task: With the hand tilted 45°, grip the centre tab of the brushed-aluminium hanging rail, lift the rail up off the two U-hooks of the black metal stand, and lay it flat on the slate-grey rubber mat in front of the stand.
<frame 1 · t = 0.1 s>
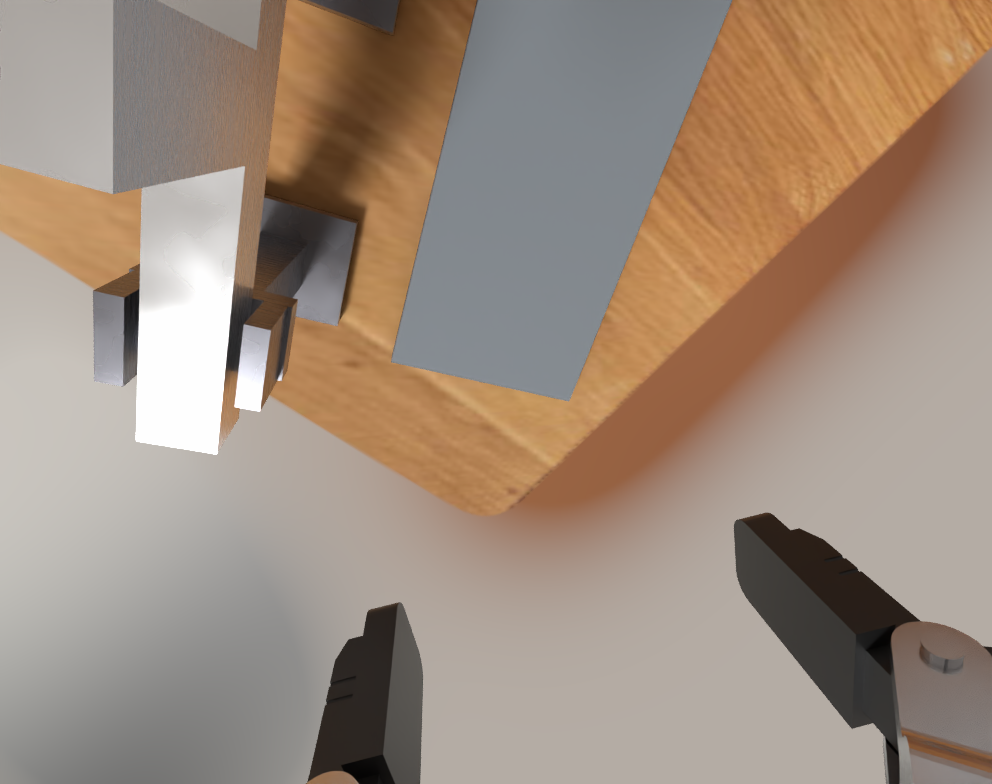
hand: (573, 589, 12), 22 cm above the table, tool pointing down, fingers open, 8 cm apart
mat: (542, 189, 29), on the table
rail: (229, 99, 15), point 12 cm above the table, touching hook stand
hook stand: (305, 111, 26), on the table
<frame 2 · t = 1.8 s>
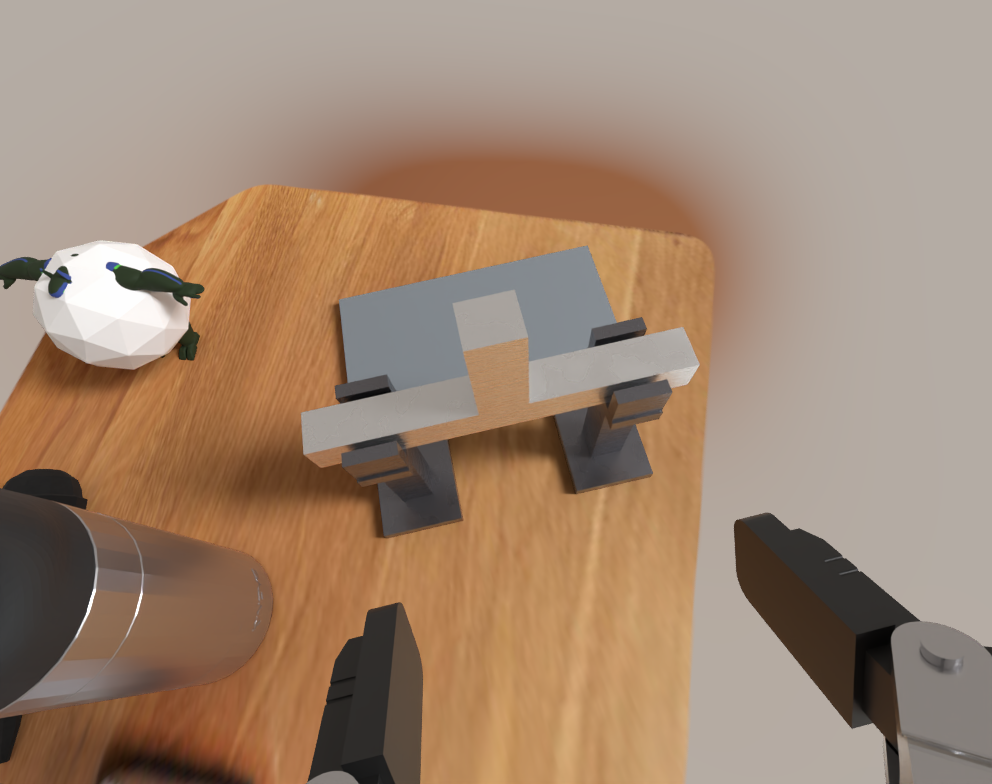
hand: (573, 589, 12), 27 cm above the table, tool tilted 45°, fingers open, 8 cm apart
mat: (477, 330, 47), on the table
rail: (501, 406, 31), point 12 cm above the table, touching hook stand
microphone: (41, 601, 40), on the table
figurine: (176, 352, 48), on the table
hook stand: (509, 464, 42), on the table
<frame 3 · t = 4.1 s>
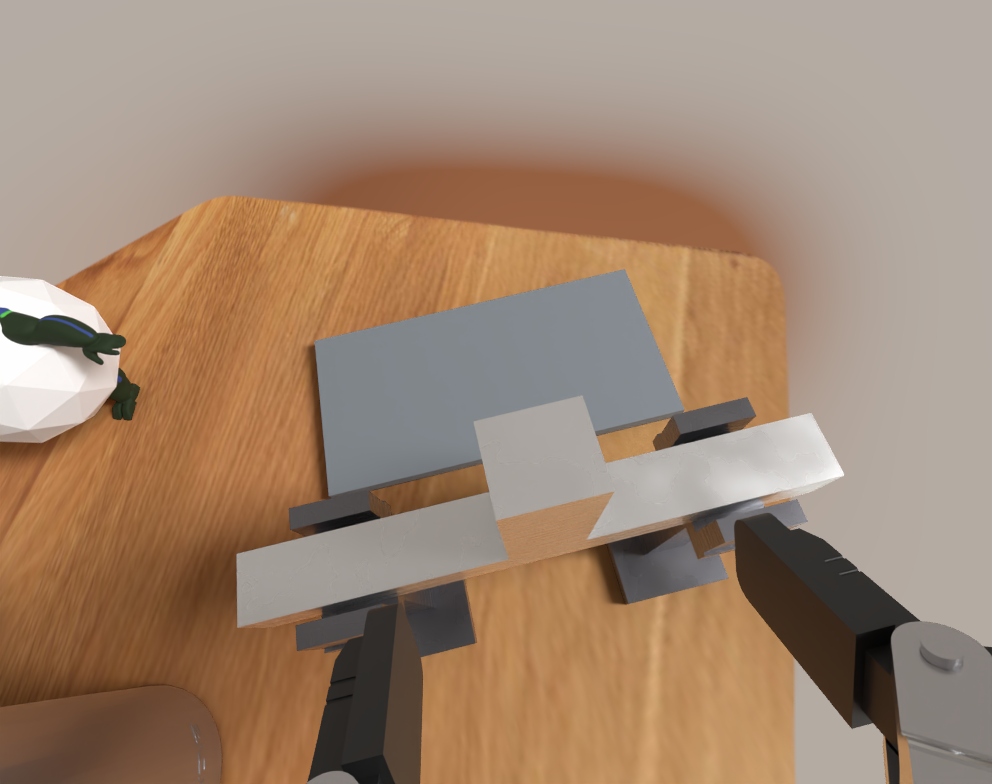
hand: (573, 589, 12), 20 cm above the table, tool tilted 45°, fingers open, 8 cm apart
mat: (489, 379, 37), on the table
rail: (538, 527, 21), point 12 cm above the table, touching hook stand
figurine: (110, 409, 39), on the table
hook stand: (536, 562, 32), on the table
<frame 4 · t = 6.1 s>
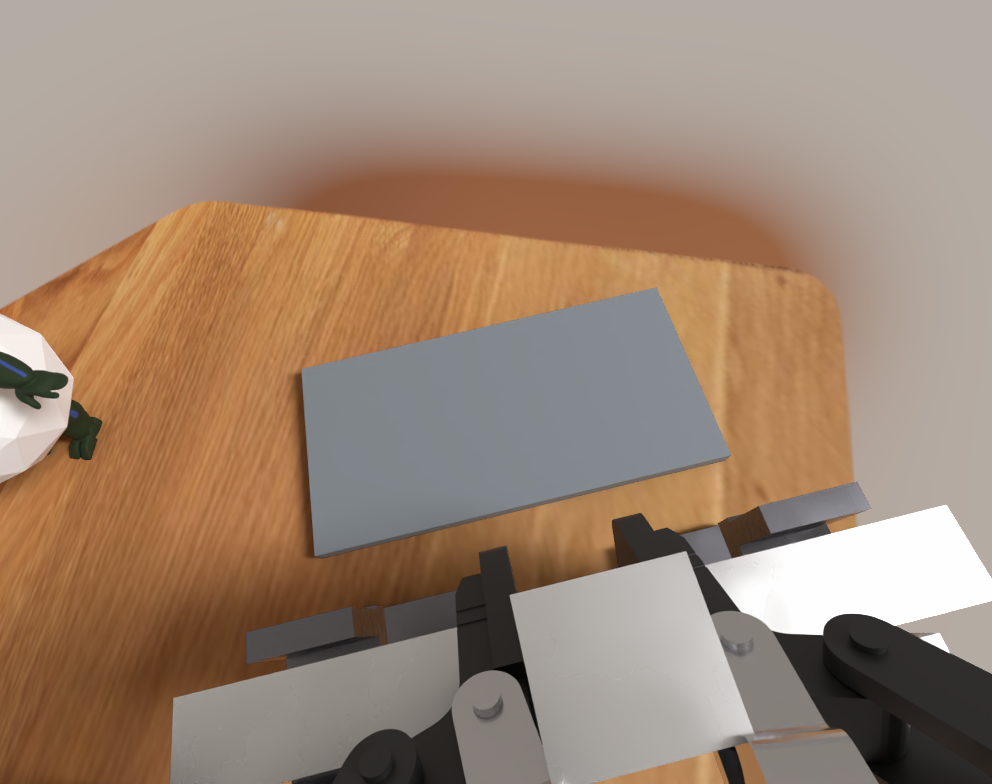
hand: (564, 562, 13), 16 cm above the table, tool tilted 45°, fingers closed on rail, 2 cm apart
mat: (502, 415, 32), on the table
rail: (576, 646, 16), point 12 cm above the table, touching gripper, hook stand
figurine: (68, 446, 34), on the table
hook stand: (559, 640, 27), on the table
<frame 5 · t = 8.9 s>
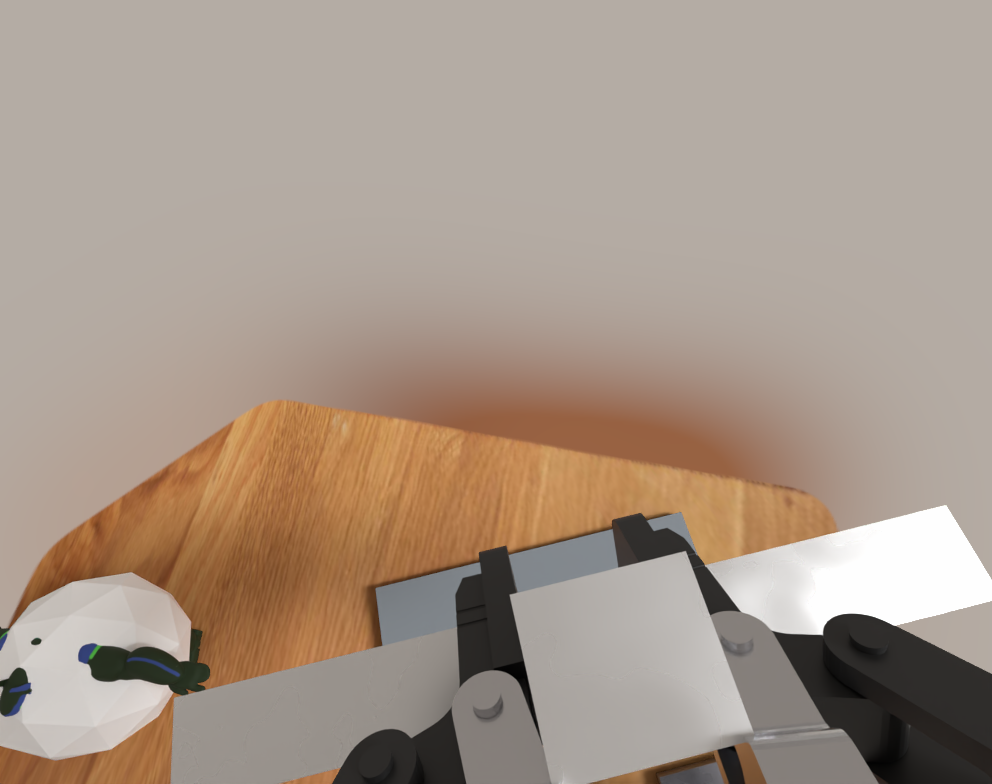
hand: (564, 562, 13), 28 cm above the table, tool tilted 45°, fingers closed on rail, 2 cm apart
mat: (550, 634, 38), on the table
rail: (576, 646, 16), point 24 cm above the table, touching gripper
figurine: (174, 654, 39), on the table
when the fingers open (7 cm above the table, at t = 11.8 s): rail drops 2 cm, resting on mat.
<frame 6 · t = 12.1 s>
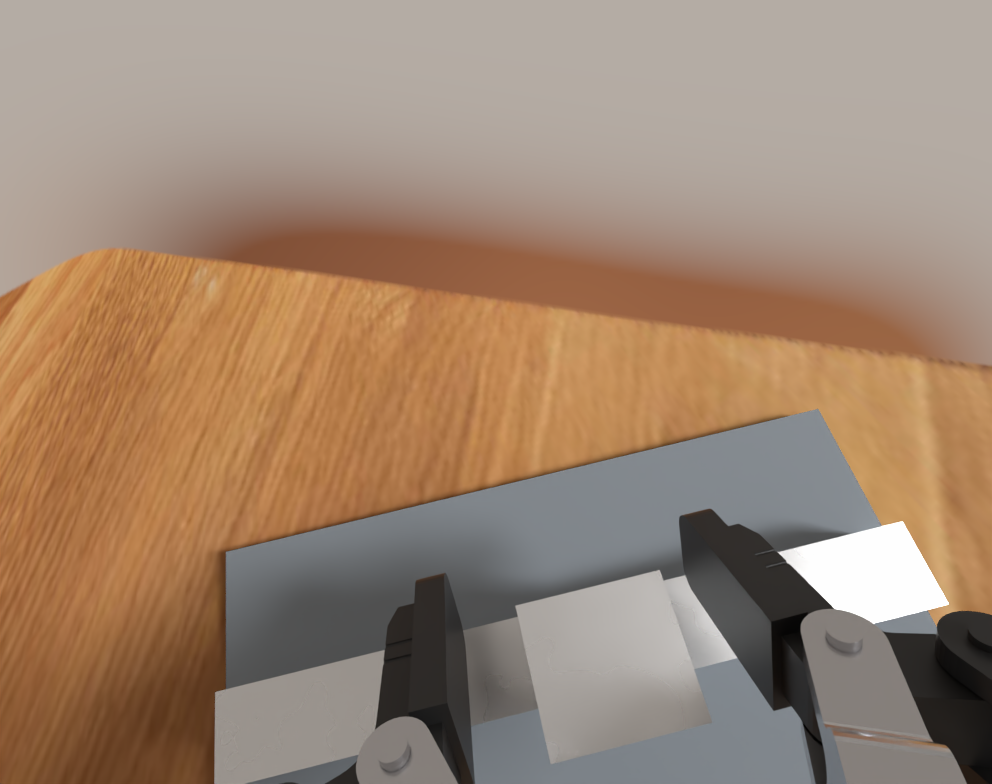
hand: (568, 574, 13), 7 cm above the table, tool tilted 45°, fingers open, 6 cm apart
mat: (569, 643, 19), on the table
rail: (572, 646, 18), point 1 cm above the table, touching mat
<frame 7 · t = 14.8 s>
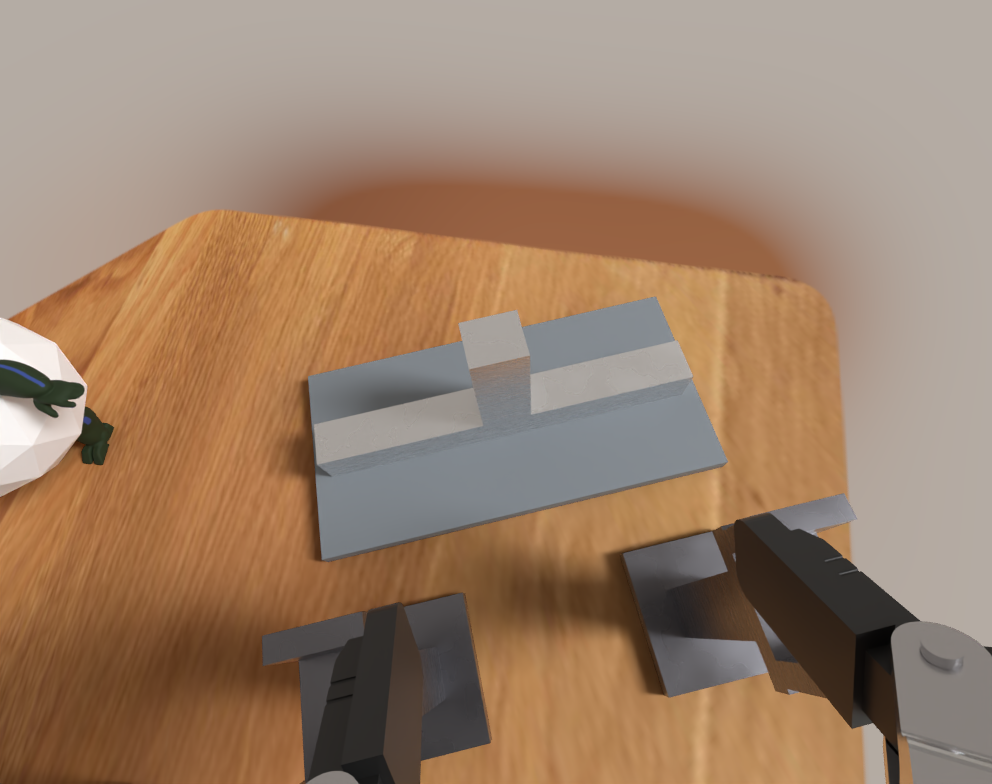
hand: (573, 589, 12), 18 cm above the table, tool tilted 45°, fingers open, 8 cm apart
mat: (504, 422, 33), on the table
rail: (504, 416, 32), point 1 cm above the table, touching mat
figurine: (80, 451, 35), on the table
hook stand: (559, 642, 28), on the table
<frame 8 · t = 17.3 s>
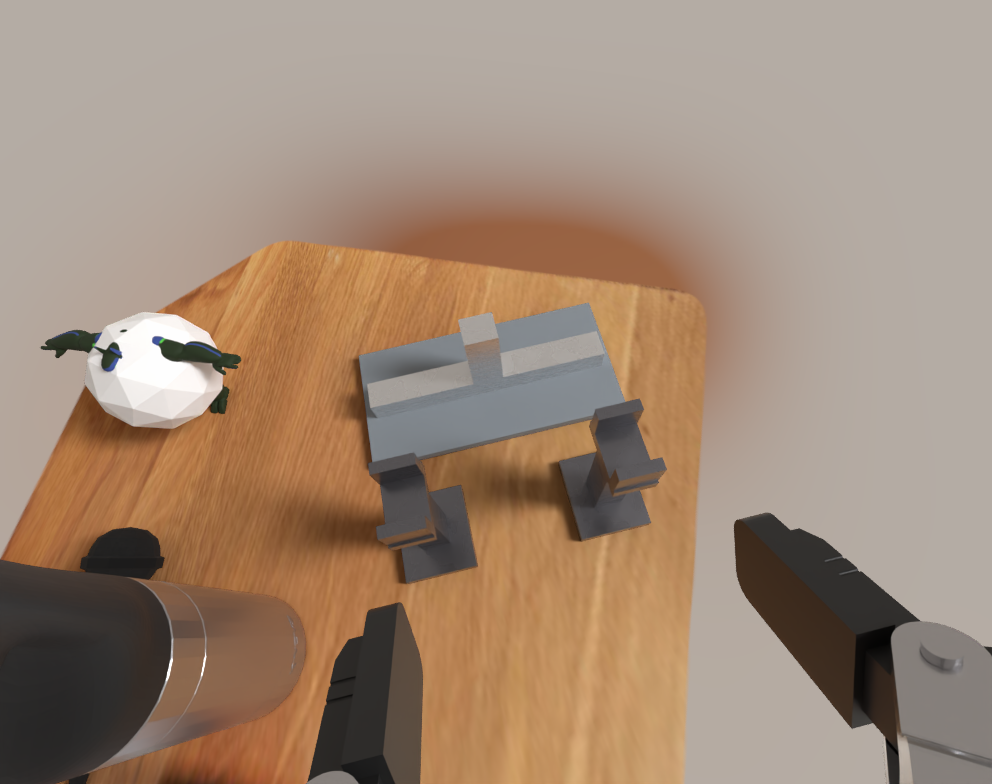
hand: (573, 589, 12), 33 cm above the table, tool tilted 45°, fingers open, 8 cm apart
mat: (488, 384, 51), on the table
rail: (487, 380, 50), point 1 cm above the table, touching mat
microphone: (116, 650, 43), on the table
figurine: (208, 405, 52), on the table
hook stand: (519, 513, 45), on the table
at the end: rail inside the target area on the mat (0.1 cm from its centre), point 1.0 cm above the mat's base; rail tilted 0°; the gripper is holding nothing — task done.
